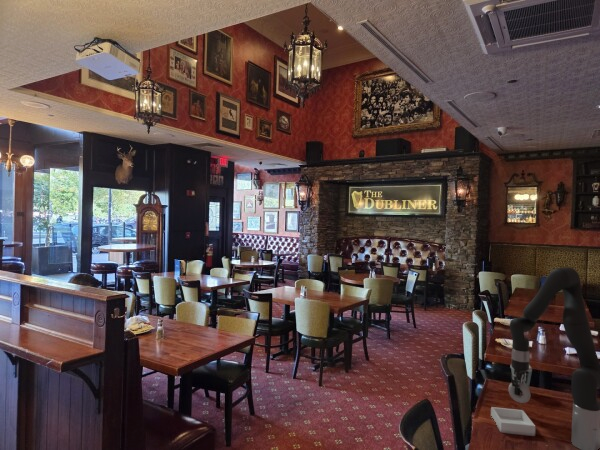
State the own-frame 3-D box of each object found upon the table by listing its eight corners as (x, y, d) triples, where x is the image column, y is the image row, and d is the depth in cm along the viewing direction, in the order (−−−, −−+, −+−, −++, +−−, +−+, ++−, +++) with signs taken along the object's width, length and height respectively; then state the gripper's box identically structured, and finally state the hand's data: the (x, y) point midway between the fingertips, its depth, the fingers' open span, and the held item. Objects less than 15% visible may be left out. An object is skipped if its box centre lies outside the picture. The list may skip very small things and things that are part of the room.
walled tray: (522, 419, 185) (522, 410, 184) (535, 436, 171) (535, 426, 171) (490, 416, 187) (491, 406, 187) (500, 432, 173) (501, 422, 173)
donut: (506, 399, 193) (507, 379, 192) (510, 397, 195) (510, 377, 195) (528, 407, 185) (529, 386, 184) (531, 405, 187) (532, 384, 187)
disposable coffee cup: (534, 397, 208) (535, 369, 208) (512, 394, 210) (513, 367, 210) (527, 388, 218) (528, 361, 218) (506, 386, 221) (507, 359, 220)
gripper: (521, 364, 182) (520, 400, 182) (535, 358, 190) (534, 393, 191) (505, 359, 188) (504, 394, 189) (519, 353, 196) (518, 387, 197)
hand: (519, 393), depth 190 cm, fingers closed on donut, 3 cm apart
